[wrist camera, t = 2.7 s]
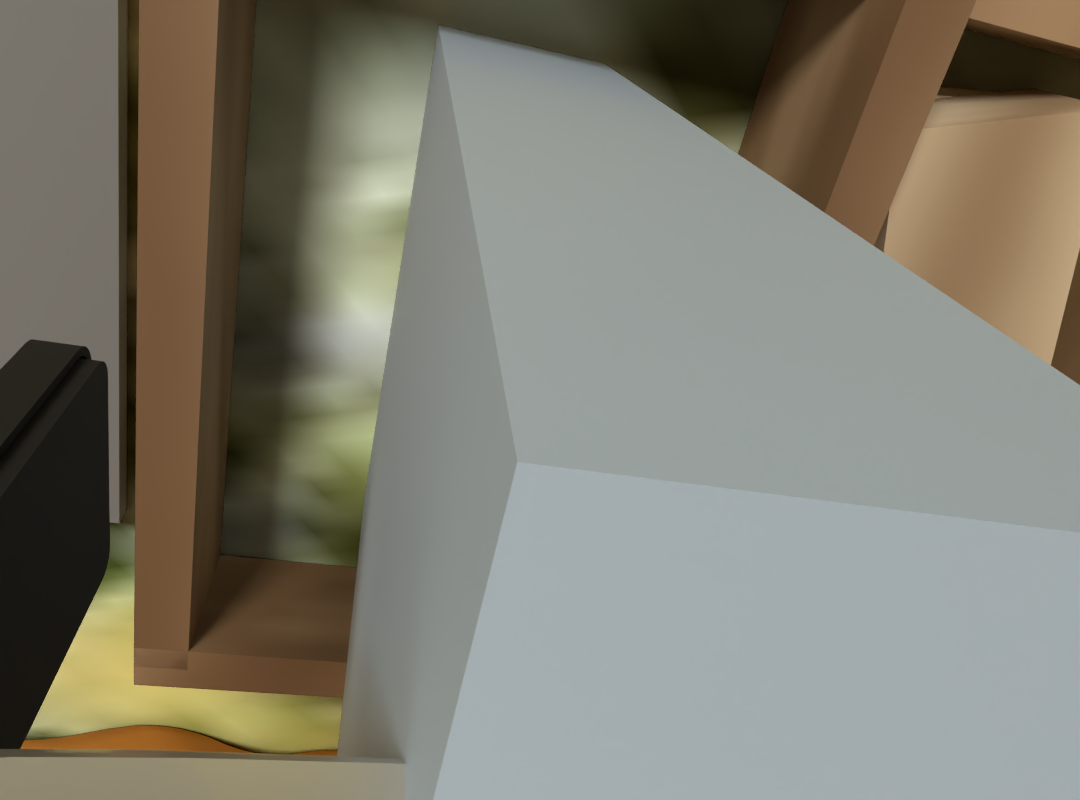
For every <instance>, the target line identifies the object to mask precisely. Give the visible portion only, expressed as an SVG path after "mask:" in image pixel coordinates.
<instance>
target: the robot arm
mask: <svg viewBox="0 0 1080 800" xmlns="http://www.w3.org/2000/svg"><path fill="white" fill-rule="evenodd" d="M109 551H110V513H109V420H108V369H107V365H106V363H105V362H104V361H97V360H92V359H91V354H90V351H89V349H88V348H87V347H86V346H78V345H71V344H64V343H56V342H49V341H42V340H34V339H30V340H29V341H27V342H26V343H25V344H24V345H23V346H22V347H21V348H20V349H19V350H18V351H17V352H16V353H15V355H14V356H13V357H12V358H11V359H10V360H9V361H8V362H7V363H6V364H5V365H4V366H3V367H2V368H1V369H0V800H406V763H405V762H404V761H403V760H401V759H398V758H376V757H347V756H319V755H290V754H261V753H231V752H200V751H168V750H137V749H20V748H21V746H22V744H23V742H24V740H25V738H26V736H27V734H28V732H29V730H30V728H31V726H32V724H33V721H34V719H35V717H36V715H37V713H38V711H39V709H40V707H41V705H42V703H43V701H44V699H45V697H46V695H47V693H48V691H49V689H50V686H51V684H52V682H53V680H54V678H55V676H56V674H57V672H58V670H59V668H60V666H61V664H62V662H63V660H64V658H65V656H66V653H67V651H68V649H69V647H70V645H71V643H72V641H73V639H74V637H75V635H76V633H77V631H78V629H79V627H80V625H81V623H82V620H83V618H84V616H85V614H86V612H87V610H88V608H89V606H90V604H91V602H92V600H93V598H94V596H95V594H96V592H97V590H98V587H99V585H100V583H101V581H102V579H103V577H104V574H105V571H106V568H107V563H108V559H109Z"/></svg>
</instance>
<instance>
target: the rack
mask: <svg viewBox="0 0 1080 800" xmlns="http://www.w3.org/2000/svg"><path fill="white" fill-rule="evenodd" d="M256 1H257V0H139V89H138V217H137V345H136V473H135V602H134V685H148V686H164V687H180V688H196V689H212V690H228V691H244V692H260V693H277V694H293V695H309V696H325V697H341V698H343V696H344V686H345V677H346V667H347V658H348V648H349V639H350V629H351V620H352V610H353V601H354V592H355V582H356V573H357V568H354V567H344V566H333V565H323V564H312V563H302V562H291V561H281V560H270V559H259V558H249V557H238V556H228V555H220V552H221V537H222V522H223V506H224V491H225V476H226V460H227V445H228V430H229V414H230V399H231V384H232V368H233V353H234V338H235V323H236V307H237V292H238V277H239V261H240V246H241V231H242V215H243V200H244V185H245V169H246V154H247V139H248V123H249V108H250V93H251V78H252V62H253V47H254V32H255V16H256ZM964 29H967V30H971V31H975V32H978V33H982V34H986V35H989V36H993V37H997V38H1001V39H1004V40H1008V41H1012V42H1016V43H1019V44H1023V45H1027V46H1030V47H1034V48H1038V49H1042V50H1045V51H1049V52H1053V53H1056V54H1060V55H1064V56H1068V57H1071V58H1075V59H1079V60H1080V0H788V3H787V6H786V9H785V12H784V15H783V18H782V21H781V24H780V27H779V30H778V33H777V36H776V40H775V43H774V46H773V49H772V52H771V55H770V58H769V61H768V64H767V67H766V70H765V73H764V76H763V79H762V83H761V86H760V89H759V92H758V95H757V98H756V101H755V104H754V107H753V110H752V113H751V116H750V119H749V122H748V125H747V129H746V132H745V135H744V138H743V141H742V144H741V147H740V150H739V153H738V155H740V156H741V157H743V158H744V159H746V160H747V161H749V162H750V163H752V164H753V165H755V166H756V167H758V168H759V169H761V170H762V171H764V172H765V173H767V174H768V175H770V176H771V177H773V178H774V179H775V180H777V181H778V182H780V183H781V184H783V185H784V186H786V187H787V188H789V189H790V190H792V191H793V192H795V193H796V194H798V195H799V196H801V197H802V198H804V199H805V200H807V201H808V202H810V203H811V204H812V205H814V206H815V207H817V208H818V209H820V210H821V211H823V212H824V213H826V214H827V215H829V216H830V217H832V218H833V219H835V220H836V221H838V222H839V223H841V224H842V225H844V226H845V227H847V228H848V229H849V230H851V231H852V232H854V233H855V234H857V235H858V236H860V237H861V238H863V239H864V240H866V241H867V242H869V243H870V244H872V245H873V246H874V244H875V242H876V239H877V237H878V235H879V232H880V230H881V228H882V225H883V223H884V220H885V218H886V216H887V213H888V211H889V208H890V206H891V204H892V201H893V199H894V196H895V194H896V192H897V189H898V187H899V184H900V182H901V180H902V177H903V175H904V172H905V170H906V168H907V165H908V163H909V161H910V158H911V156H912V153H913V151H914V149H915V146H916V144H917V141H918V139H919V137H920V134H921V132H922V129H923V127H924V125H925V122H926V120H927V117H928V115H929V113H930V110H931V108H932V105H933V103H934V101H935V98H936V96H937V94H938V91H939V89H940V86H941V84H942V82H943V79H944V77H945V74H946V72H947V70H948V67H949V65H950V62H951V60H952V58H953V55H954V53H955V50H956V48H957V46H958V43H959V41H960V39H961V36H962V34H963V31H964ZM1051 366H1052V367H1054V368H1055V369H1057V370H1058V371H1060V372H1061V373H1063V374H1064V375H1066V376H1067V377H1069V378H1070V379H1071V380H1073V381H1074V382H1076V383H1077V384H1079V385H1080V249H1079V253H1078V257H1077V261H1076V265H1075V269H1074V274H1073V278H1072V282H1071V286H1070V290H1069V294H1068V298H1067V302H1066V306H1065V310H1064V314H1063V318H1062V322H1061V326H1060V330H1059V334H1058V338H1057V342H1056V346H1055V350H1054V354H1053V358H1052V362H1051Z"/></svg>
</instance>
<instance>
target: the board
mask: <svg viewBox="0 0 1080 800" xmlns="http://www.w3.org/2000/svg"><path fill="white" fill-rule="evenodd" d="M337 756H347V757H376V758H398V759H401V760H403V761H404V762H405V763H406V800H1080V385H1079V384H1077V383H1076V382H1074V381H1073V380H1071V379H1070V378H1069V377H1067V376H1066V375H1064V374H1063V373H1061V372H1060V371H1058V370H1057V369H1055V368H1054V367H1052V366H1051V365H1049V364H1048V363H1046V362H1045V361H1043V360H1042V359H1040V358H1039V357H1037V356H1036V355H1034V354H1033V353H1032V352H1030V351H1029V350H1027V349H1026V348H1024V347H1023V346H1021V345H1020V344H1018V343H1017V342H1015V341H1014V340H1012V339H1011V338H1009V337H1008V336H1006V335H1005V334H1003V333H1002V332H1000V331H999V330H997V329H996V328H995V327H993V326H992V325H990V324H989V323H987V322H986V321H984V320H983V319H981V318H980V317H978V316H977V315H975V314H974V313H972V312H971V311H969V310H968V309H966V308H965V307H963V306H962V305H960V304H959V303H958V302H956V301H955V300H953V299H952V298H950V297H949V296H947V295H946V294H944V293H943V292H941V291H940V290H938V289H937V288H935V287H934V286H932V285H931V284H929V283H928V282H926V281H925V280H923V279H922V278H921V277H919V276H918V275H916V274H915V273H913V272H912V271H910V270H909V269H907V268H906V267H904V266H903V265H901V264H900V263H898V262H897V261H895V260H894V259H892V258H891V257H889V256H888V255H886V254H885V253H884V252H882V251H881V250H879V249H878V248H876V247H875V246H873V245H872V244H870V243H869V242H867V241H866V240H864V239H863V238H861V237H860V236H858V235H857V234H855V233H854V232H852V231H851V230H849V229H848V228H847V227H845V226H844V225H842V224H841V223H839V222H838V221H836V220H835V219H833V218H832V217H830V216H829V215H827V214H826V213H824V212H823V211H821V210H820V209H818V208H817V207H815V206H814V205H812V204H811V203H810V202H808V201H807V200H805V199H804V198H802V197H801V196H799V195H798V194H796V193H795V192H793V191H792V190H790V189H789V188H787V187H786V186H784V185H783V184H781V183H780V182H778V181H777V180H775V179H774V178H773V177H771V176H770V175H768V174H767V173H765V172H764V171H762V170H761V169H759V168H758V167H756V166H755V165H753V164H752V163H750V162H749V161H747V160H746V159H744V158H743V157H741V156H740V155H738V154H737V153H736V152H734V151H733V150H731V149H730V148H728V147H727V146H725V145H724V144H722V143H721V142H719V141H718V140H716V139H715V138H713V137H712V136H710V135H709V134H707V133H706V132H704V131H703V130H701V129H700V128H699V127H697V126H696V125H694V124H693V123H691V122H690V121H688V120H687V119H685V118H684V117H682V116H681V115H679V114H678V113H676V112H675V111H673V110H672V109H670V108H669V107H667V106H666V105H664V104H663V103H662V102H660V101H659V100H657V99H656V98H654V97H653V96H651V95H650V94H648V93H647V92H645V91H644V90H642V89H641V88H639V87H638V86H636V85H635V84H633V83H632V82H630V81H629V80H627V79H626V78H624V77H623V76H622V75H620V74H619V73H617V72H616V71H614V70H613V69H611V68H610V67H608V66H607V65H605V64H604V63H600V62H596V61H592V60H587V59H583V58H579V57H575V56H570V55H566V54H562V53H558V52H553V51H549V50H545V49H540V48H536V47H532V46H528V45H523V44H519V43H515V42H510V41H506V40H502V39H498V38H493V37H489V36H485V35H481V34H476V33H472V32H468V31H463V30H459V29H455V28H451V27H446V26H442V25H438V30H437V36H436V42H435V49H434V55H433V62H432V68H431V74H430V81H429V87H428V94H427V100H426V106H425V113H424V119H423V126H422V132H421V138H420V145H419V151H418V158H417V164H416V170H415V177H414V183H413V190H412V196H411V202H410V209H409V215H408V222H407V228H406V234H405V241H404V247H403V254H402V260H401V266H400V273H399V279H398V286H397V292H396V299H395V305H394V311H393V318H392V324H391V331H390V337H389V343H388V350H387V356H386V363H385V369H384V375H383V382H382V388H381V395H380V401H379V407H378V414H377V420H376V427H375V433H374V439H373V446H372V452H371V459H370V465H369V471H368V478H367V484H366V491H365V497H364V506H363V516H362V525H361V535H360V544H359V554H358V563H357V573H356V582H355V592H354V601H353V610H352V620H351V629H350V639H349V648H348V658H347V667H346V677H345V686H344V696H343V705H342V714H341V724H340V733H339V743H338V752H337Z"/></svg>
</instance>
